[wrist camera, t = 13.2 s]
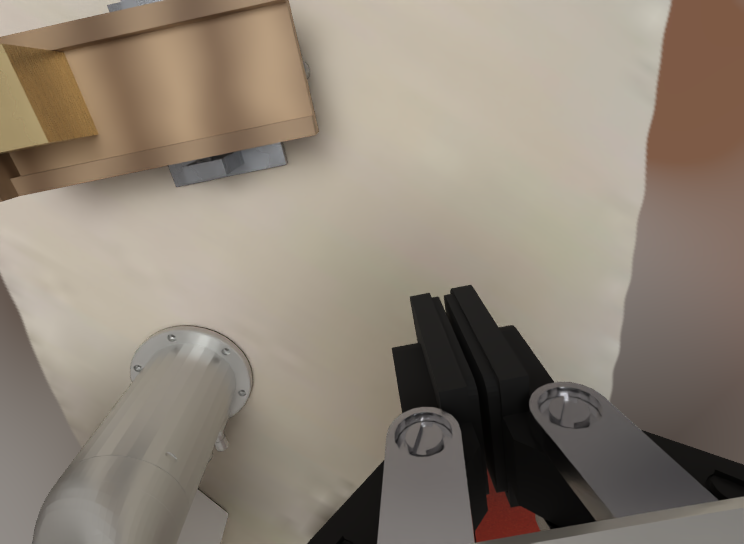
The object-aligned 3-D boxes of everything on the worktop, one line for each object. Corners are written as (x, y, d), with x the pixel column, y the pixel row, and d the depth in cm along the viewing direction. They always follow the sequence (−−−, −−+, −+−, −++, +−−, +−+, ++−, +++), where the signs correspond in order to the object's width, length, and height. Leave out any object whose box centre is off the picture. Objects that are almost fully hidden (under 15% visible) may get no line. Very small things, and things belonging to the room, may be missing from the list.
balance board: (285, -16, 26) (273, -33, 23) (319, 131, 30) (313, 137, 26) (-42, 57, 27) (-103, 52, 24) (29, 191, 31) (-16, 205, 27)
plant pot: (404, 417, 50) (428, 563, 34) (562, 402, 50) (657, 540, 35) (410, 526, 57) (432, 685, 42) (548, 512, 58) (621, 666, 42)
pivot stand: (287, -31, 32) (271, -61, 26) (329, 154, 38) (324, 166, 31) (30, 26, 33) (-46, 10, 26) (108, 199, 38) (61, 220, 32)
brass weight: (63, 52, 26) (1, 43, 22) (98, 134, 28) (48, 142, 24) (-27, 71, 26) (-108, 66, 22) (14, 151, 28) (-52, 162, 24)
